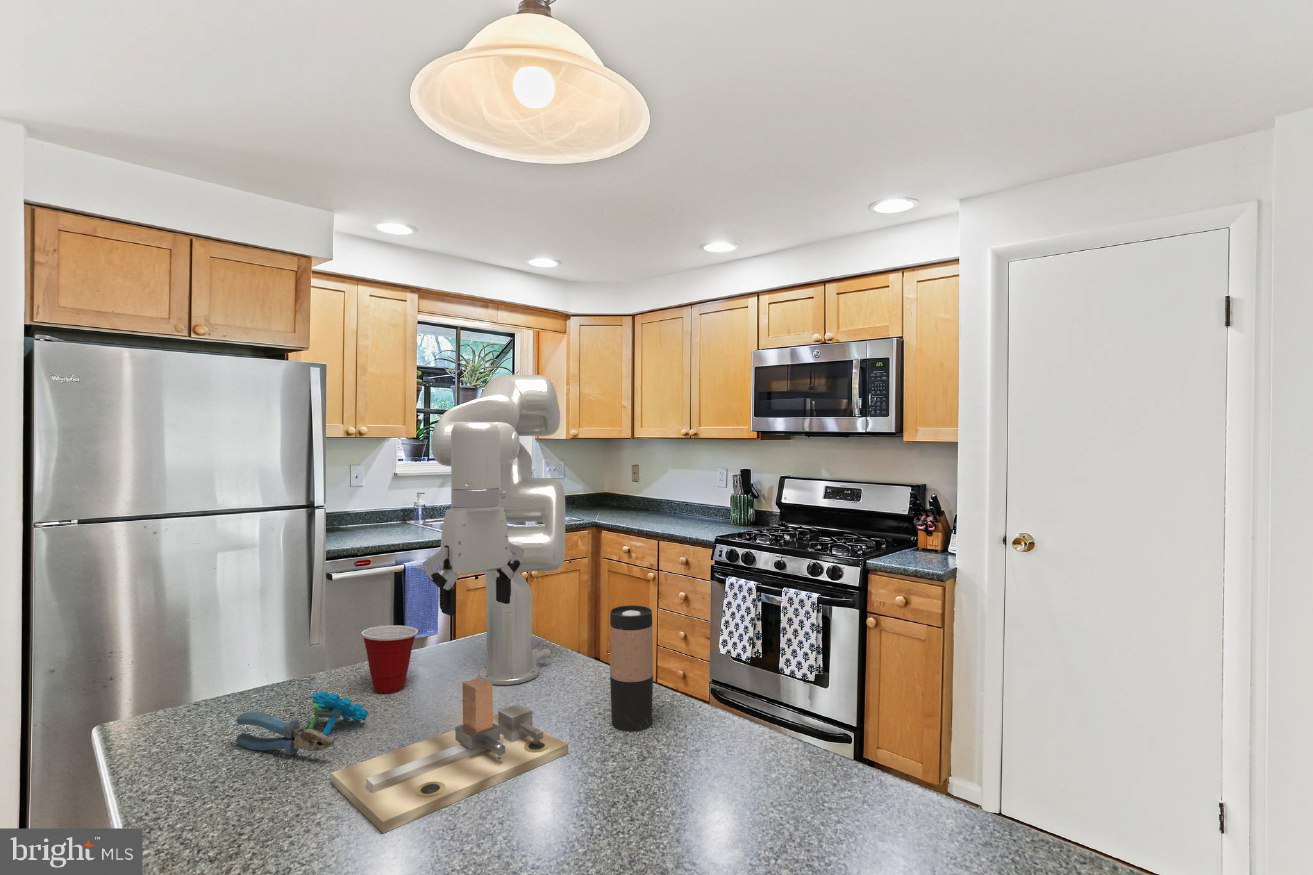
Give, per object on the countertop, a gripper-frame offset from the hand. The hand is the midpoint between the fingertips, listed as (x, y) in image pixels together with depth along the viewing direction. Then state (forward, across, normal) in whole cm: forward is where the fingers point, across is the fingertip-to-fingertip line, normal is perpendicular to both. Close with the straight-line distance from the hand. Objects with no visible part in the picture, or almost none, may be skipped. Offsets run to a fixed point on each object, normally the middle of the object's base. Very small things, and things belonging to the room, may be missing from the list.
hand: (476, 607), depth 106 cm
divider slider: (+22, 0, +2) cm, 22 cm away
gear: (+24, +11, -28) cm, 39 cm away
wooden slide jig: (+24, +4, 0) cm, 24 cm away
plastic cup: (+24, -3, -39) cm, 46 cm away
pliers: (+24, +21, -24) cm, 40 cm away
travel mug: (+24, -26, +8) cm, 36 cm away
